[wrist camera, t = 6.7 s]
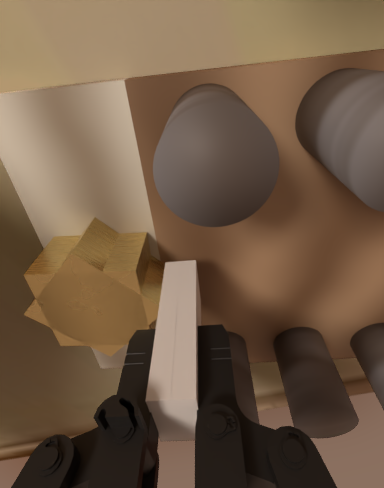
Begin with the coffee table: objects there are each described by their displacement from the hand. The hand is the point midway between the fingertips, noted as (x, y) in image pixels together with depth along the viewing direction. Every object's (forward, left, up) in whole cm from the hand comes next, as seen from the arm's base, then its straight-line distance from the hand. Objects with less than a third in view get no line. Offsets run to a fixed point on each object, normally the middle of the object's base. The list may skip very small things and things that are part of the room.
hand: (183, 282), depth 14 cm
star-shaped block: (-4, 0, -1) cm, 4 cm away
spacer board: (+4, 0, -2) cm, 4 cm away
